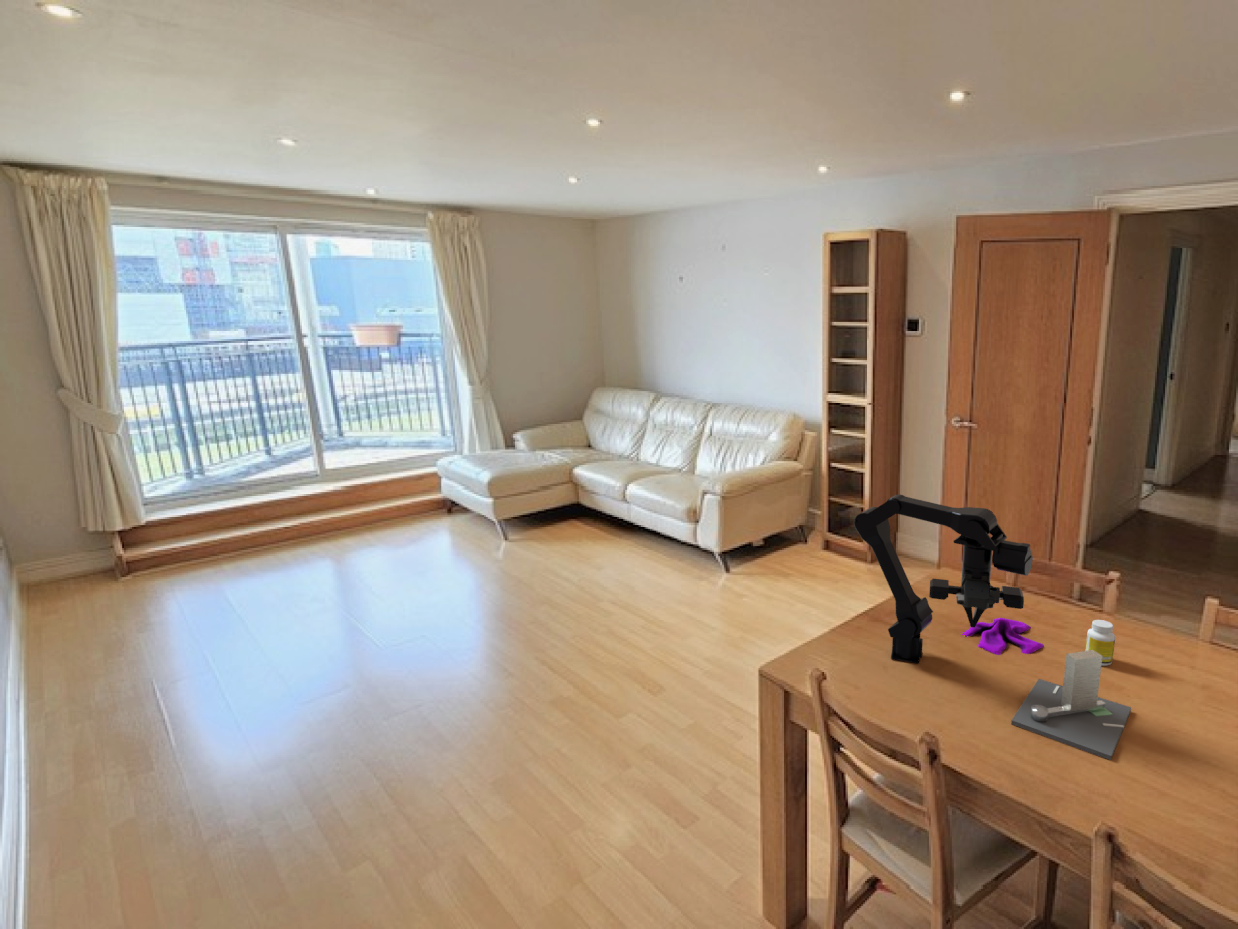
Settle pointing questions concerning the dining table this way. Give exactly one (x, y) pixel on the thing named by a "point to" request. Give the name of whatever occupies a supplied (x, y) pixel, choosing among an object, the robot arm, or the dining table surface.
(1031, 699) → the plate
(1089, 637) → the supplement bottle
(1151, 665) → the dining table surface
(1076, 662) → the frosted block on spoon
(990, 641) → the cloth
